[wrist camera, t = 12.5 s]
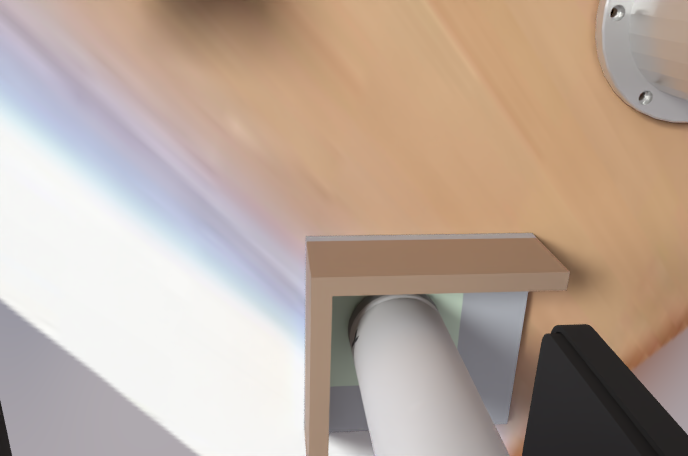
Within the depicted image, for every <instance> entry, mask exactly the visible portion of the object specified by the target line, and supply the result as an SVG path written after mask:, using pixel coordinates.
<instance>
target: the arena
mask: <svg viewBox="0 0 688 456" xmlns="http://www.w3.org/2000/svg"><path fill="white" fill-rule="evenodd" d="M569 275H570V272H569V270H568V269H567V268H566V267H565V266H564V265H563V264H562V263H561V262H560V261H559V260H558V259H557V258H556V257H555V256H554V255H553V254H552V253H551V252H550V251H549V250H548V249H547V248H546V247H545V246H544V245H543V244H542V243H541V242H540V241H539V240H538V239H537V238H536V237H535V236H534V235H533V234H532V233H504V234H434V235H365V236H306V268H305V386H304V431H305V444H306V456H328V441H329V432H348V431H368V430H369V428H368V424H367V419H366V414H365V410H364V405H363V401H362V396H361V392H360V387H359V383H358V378H357V374H356V369H355V364H354V360H353V355H352V351H351V346H350V342H349V337H348V324H349V319H350V317H351V315H352V312H353V311H354V309H355V308H356V306H357V305H358V304H359V303H360V302H361V301H362V300H363V299H364V298H365V297H367V296H368V295H403V294H426V295H427V296H428V297H430V298H431V300H432V301H433V302H434V304H435V305H436V307H437V309H438V311H439V313H440V315H441V317H442V319H443V321H444V323H445V325H446V328H447V330H448V332H449V334H450V336H451V338H452V340H453V342H454V344H455V346H456V348H457V350H458V352H459V354H460V356H461V358H462V360H463V362H464V364H465V366H466V368H467V370H468V372H469V374H470V376H471V378H472V380H473V382H474V384H475V386H476V389H477V391H478V393H479V395H480V397H481V399H482V401H483V403H484V405H485V407H486V409H487V411H488V413H489V415H490V417H491V419H492V421H493V423H494V424H507V422H508V416H509V409H510V403H511V397H512V390H513V384H514V378H515V372H516V365H517V359H518V353H519V346H520V340H521V334H522V328H523V321H524V315H525V309H526V302H527V296H528V291H563V290H567V286H568V280H569Z"/></svg>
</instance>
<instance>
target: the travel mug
mask: <svg viewBox="0 0 688 456" xmlns="http://www.w3.org/2000/svg"><path fill="white" fill-rule="evenodd" d="M348 337H349V342H350V346H351V351H352V355H353V360H354V364H355V369H356V374H357V378H358V383H359V387H360V392H361V396H362V401H363V405H364V410H365V414H366V419H367V424H368V428H369V433H370V437H371V442H372V446H373V451H374V455H375V456H509V454H508V452H507V450H506V447H505V445H504V443H503V441H502V439H501V437H500V435H499V433H498V431H497V429H496V427H495V425H494V423H493V421H492V419H491V417H490V415H489V413H488V411H487V409H486V407H485V405H484V403H483V401H482V399H481V397H480V395H479V393H478V391H477V389H476V386H475V384H474V382H473V380H472V378H471V376H470V374H469V372H468V370H467V368H466V366H465V364H464V362H463V360H462V358H461V356H460V354H459V352H458V350H457V348H456V346H455V344H454V342H453V340H452V338H451V336H450V334H449V332H448V330H447V328H446V325H445V323H444V321H443V319H442V317H441V315H440V313H439V311H438V309H437V307H436V305H435V304H434V302H433V301H432V300H431V298H430V297H428V296H427V295H426V294H403V295H368V296H367V297H365V298H364V299H363V300H362V301H361V302H360V303H359V304H358V305H357V306H356V308H355V309H354V311H353V312H352V315H351V317H350V319H349V324H348Z"/></svg>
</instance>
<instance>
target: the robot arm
mask: <svg viewBox="0 0 688 456" xmlns="http://www.w3.org/2000/svg"><path fill="white" fill-rule="evenodd" d="M612 8H613V9H614V12H613V15H610V13H611V10H612ZM595 40H596V47H597V54H598V59H599V62H600V65H601V68H602V71H603V74H604V76H605V78H606V80H607V81H608V83H609V84H610V86H611V88H612V89H613V91H614V92H615V93H616V94H617V95H618V96H619V97H620V98H621V99H622V100H623V101H624V102H625V103H626V104H627V105H629V106H631V107H632V108H634V109H635V110H637V111H639V112H640V113H643V114H646V115H648V116H650V117H653V118H655V119H659V120H664V121H668V122H684V123H688V0H600V1H599V6H598V11H597V15H596V32H595ZM640 94H641V96H640ZM639 96H640V97H639ZM0 456H12V453H11V449H10V444H9V439H8V435H7V430H6V425H5V421H4V416H3V411H2V407H1V402H0ZM522 456H688V435H687V434H686V433H685V431H684V430H683V429H682V428H681V427H680V426H679V425H678V424H677V422H676V421H675V420H674V419H673V418H672V417H671V416H670V415H669V413H668V412H667V411H666V410H665V409H664V408H663V407H662V406H661V404H660V403H659V402H658V401H657V400H656V399H655V398H654V397H653V395H652V394H651V393H650V392H649V391H648V390H647V389H646V388H645V386H644V385H643V384H642V383H641V382H640V381H639V380H638V379H637V377H636V376H635V375H634V374H633V373H632V372H631V371H630V369H629V368H628V367H627V366H626V365H625V364H624V363H623V362H622V360H621V359H620V358H619V357H618V356H617V355H616V354H615V353H614V351H613V350H612V349H611V348H610V347H609V346H608V345H607V344H606V342H605V341H604V340H603V339H602V338H601V337H600V336H599V334H598V333H597V332H596V331H595V330H594V329H593V328H592V327H591V326H590V325H586V324H582V325H557V326H555V327H554V328H553V330H552V331H551V334H545V335H544V337H543V339H542V343H541V348H540V354H539V360H538V366H537V371H536V377H535V383H534V389H533V395H532V400H531V406H530V412H529V418H528V423H527V429H526V435H525V441H524V446H523V453H522Z"/></svg>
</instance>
